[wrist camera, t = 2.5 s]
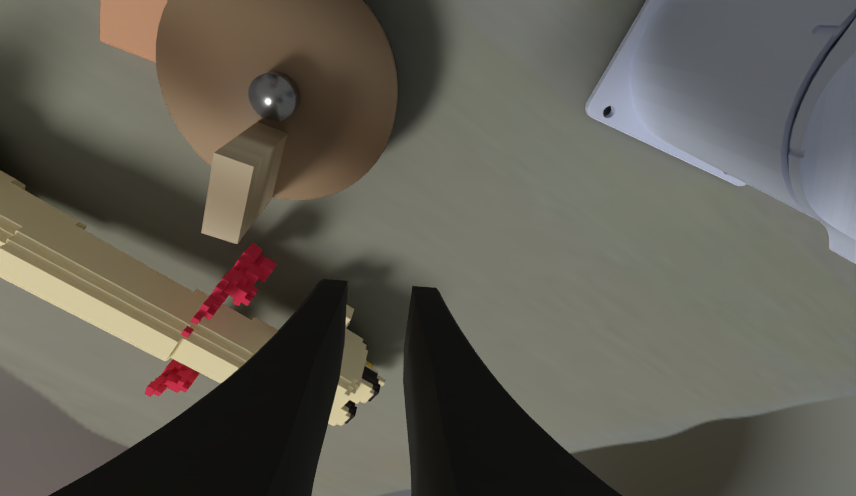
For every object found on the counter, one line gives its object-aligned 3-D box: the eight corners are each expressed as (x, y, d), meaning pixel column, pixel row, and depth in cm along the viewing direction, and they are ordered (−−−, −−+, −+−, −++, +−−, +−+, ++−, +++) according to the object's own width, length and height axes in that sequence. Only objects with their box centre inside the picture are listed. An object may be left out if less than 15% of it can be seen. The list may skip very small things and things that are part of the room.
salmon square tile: (179, 2, 16) (171, 2, 15) (173, 64, 17) (165, 66, 16) (111, -27, 15) (101, -28, 15) (109, 39, 16) (100, 40, 16)
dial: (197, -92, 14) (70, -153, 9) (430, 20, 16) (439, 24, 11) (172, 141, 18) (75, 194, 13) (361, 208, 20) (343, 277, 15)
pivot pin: (304, 81, 15) (299, 85, 14) (294, 122, 16) (288, 128, 15) (260, 63, 14) (253, 66, 14) (252, 106, 15) (244, 111, 15)
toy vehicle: (-72, 202, 21) (335, 419, 27) (-375, 298, 13) (293, 568, 20) (-37, 31, 17) (426, 330, 24) (-433, 26, 9) (417, 472, 16)
